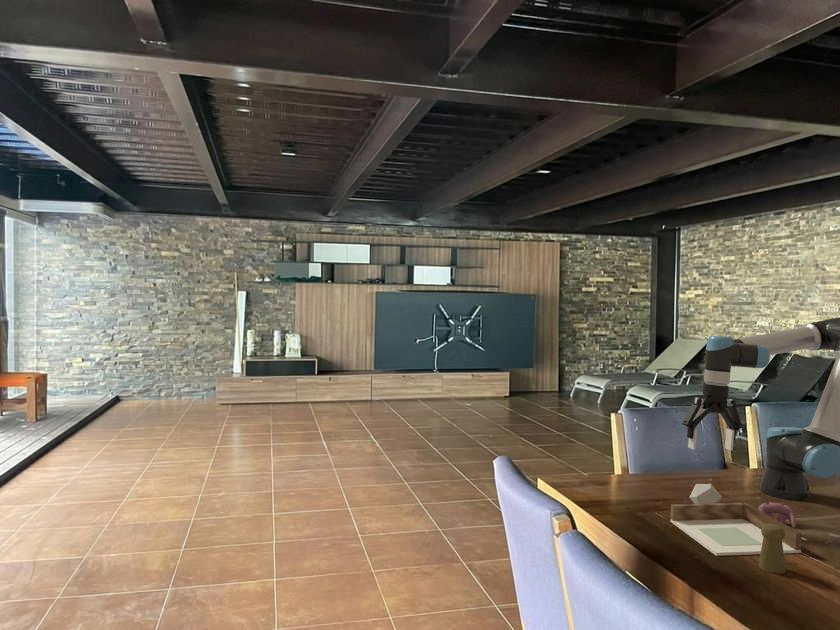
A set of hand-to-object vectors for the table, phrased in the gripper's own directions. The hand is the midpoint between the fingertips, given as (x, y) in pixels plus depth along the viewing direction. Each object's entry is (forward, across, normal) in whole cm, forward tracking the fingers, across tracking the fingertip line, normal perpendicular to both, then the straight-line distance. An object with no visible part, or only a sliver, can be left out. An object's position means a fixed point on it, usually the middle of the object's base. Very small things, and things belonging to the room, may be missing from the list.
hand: (710, 449), depth 195 cm
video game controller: (+19, -14, +15) cm, 27 cm away
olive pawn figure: (+20, +11, +41) cm, 47 cm away
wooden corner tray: (+20, +7, +21) cm, 30 cm away
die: (+20, 0, 0) cm, 20 cm away
